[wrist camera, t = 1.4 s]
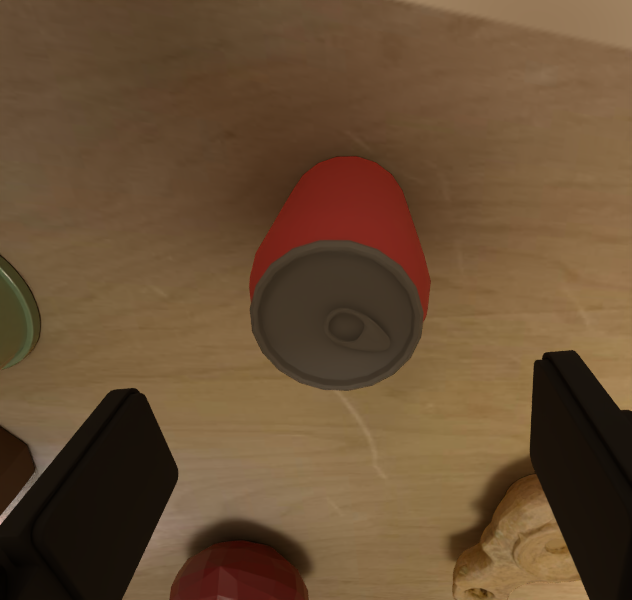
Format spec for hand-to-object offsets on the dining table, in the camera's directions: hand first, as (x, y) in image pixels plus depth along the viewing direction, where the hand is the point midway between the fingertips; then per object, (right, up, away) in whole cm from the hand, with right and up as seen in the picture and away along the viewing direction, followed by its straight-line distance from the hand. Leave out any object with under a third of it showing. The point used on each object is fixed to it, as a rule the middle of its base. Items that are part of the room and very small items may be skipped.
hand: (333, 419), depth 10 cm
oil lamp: (+16, -14, +24) cm, 32 cm away
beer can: (+1, +8, +14) cm, 16 cm away
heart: (-7, -20, +30) cm, 37 cm away
